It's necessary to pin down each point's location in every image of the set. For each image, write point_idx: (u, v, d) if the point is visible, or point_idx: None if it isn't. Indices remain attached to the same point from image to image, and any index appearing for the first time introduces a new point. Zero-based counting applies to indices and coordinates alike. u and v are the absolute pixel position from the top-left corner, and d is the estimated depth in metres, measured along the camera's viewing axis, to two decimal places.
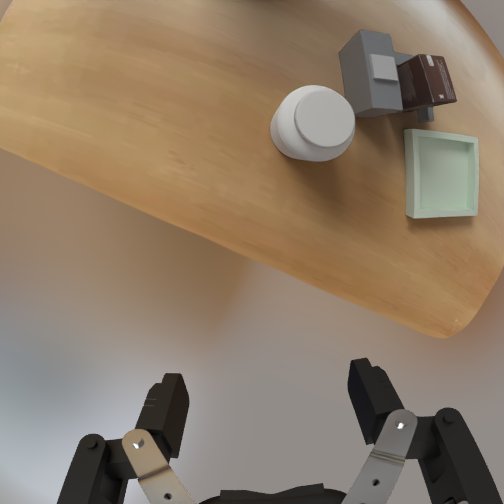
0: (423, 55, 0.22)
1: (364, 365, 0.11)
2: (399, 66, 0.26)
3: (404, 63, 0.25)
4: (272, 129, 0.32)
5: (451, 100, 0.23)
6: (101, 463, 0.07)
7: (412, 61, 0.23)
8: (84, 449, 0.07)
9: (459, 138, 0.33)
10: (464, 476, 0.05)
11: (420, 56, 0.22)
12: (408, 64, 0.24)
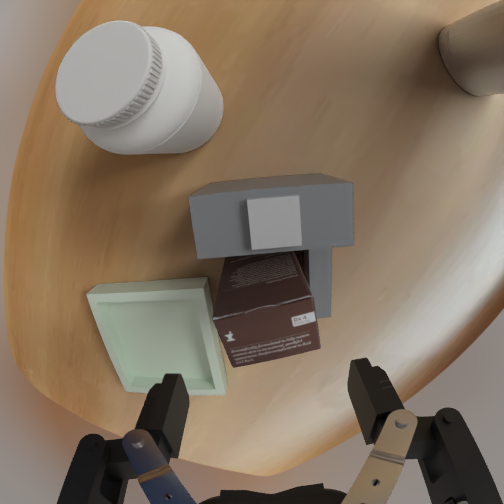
0: (311, 305, 0.16)
1: (364, 365, 0.11)
2: (294, 262, 0.20)
3: (298, 270, 0.19)
4: None
5: (229, 356, 0.17)
6: (101, 463, 0.07)
7: (299, 283, 0.17)
8: (84, 449, 0.07)
9: (214, 367, 0.29)
10: (464, 476, 0.05)
11: (307, 298, 0.16)
12: (294, 276, 0.18)
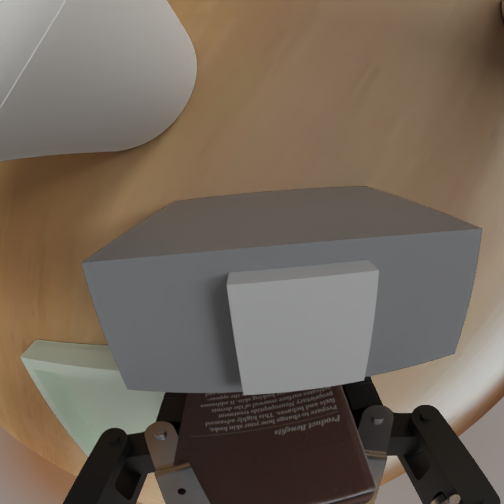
0: (369, 498, 0.05)
1: None
2: None
3: (339, 401, 0.08)
4: None
5: None
6: (120, 458, 0.07)
7: (345, 447, 0.06)
8: (105, 442, 0.08)
9: None
10: (451, 471, 0.05)
11: (364, 494, 0.05)
12: (334, 422, 0.07)
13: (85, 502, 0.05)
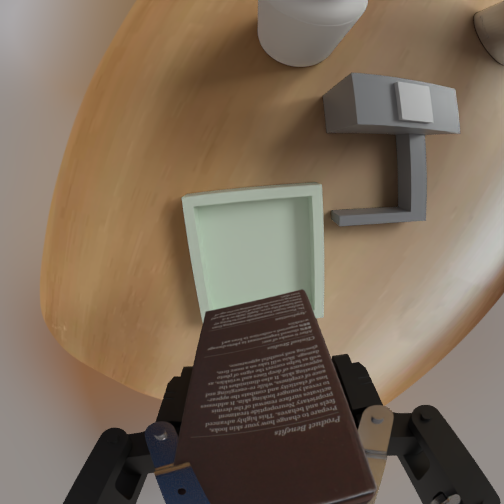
0: (369, 499, 0.05)
1: (344, 361, 0.12)
2: (329, 375, 0.09)
3: (339, 402, 0.08)
4: None
5: None
6: (120, 458, 0.07)
7: (345, 448, 0.06)
8: (105, 442, 0.08)
9: (318, 279, 0.29)
10: (451, 471, 0.05)
11: (364, 495, 0.05)
12: (334, 423, 0.07)
13: (85, 502, 0.05)
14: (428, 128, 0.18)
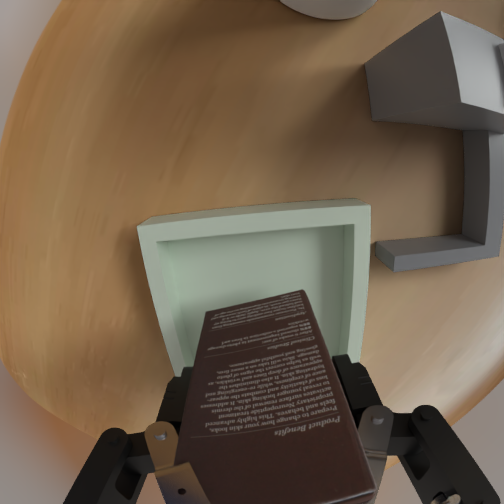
0: (369, 499, 0.05)
1: (344, 361, 0.12)
2: (329, 375, 0.09)
3: (339, 402, 0.08)
4: None
5: None
6: (120, 458, 0.07)
7: (345, 448, 0.06)
8: (105, 442, 0.08)
9: (354, 347, 0.18)
10: (451, 470, 0.05)
11: (364, 495, 0.05)
12: (334, 423, 0.07)
13: (85, 502, 0.05)
14: None
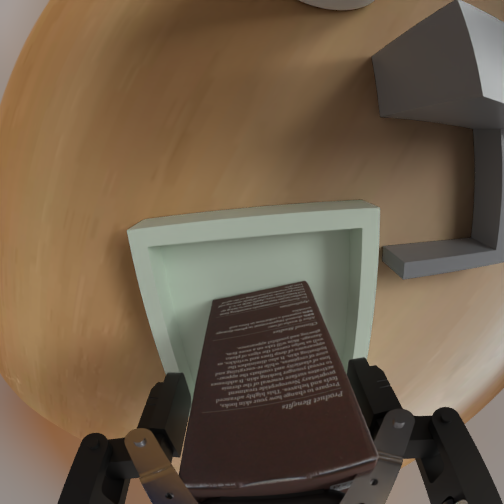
0: (371, 468, 0.06)
1: (362, 364, 0.11)
2: (332, 356, 0.10)
3: (341, 379, 0.09)
4: None
5: None
6: (103, 462, 0.07)
7: (348, 419, 0.07)
8: (86, 448, 0.07)
9: None
10: (463, 475, 0.05)
11: (367, 463, 0.06)
12: (337, 397, 0.08)
13: None
14: None
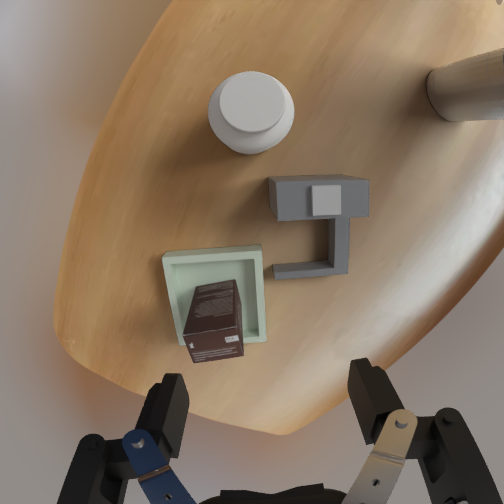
0: (235, 332, 0.29)
1: (364, 365, 0.11)
2: (233, 303, 0.33)
3: (233, 309, 0.32)
4: None
5: (191, 356, 0.30)
6: (101, 463, 0.07)
7: (231, 318, 0.30)
8: (84, 449, 0.07)
9: (261, 315, 0.40)
10: (464, 476, 0.05)
11: (233, 328, 0.29)
12: (230, 313, 0.31)
13: None
14: (338, 217, 0.29)
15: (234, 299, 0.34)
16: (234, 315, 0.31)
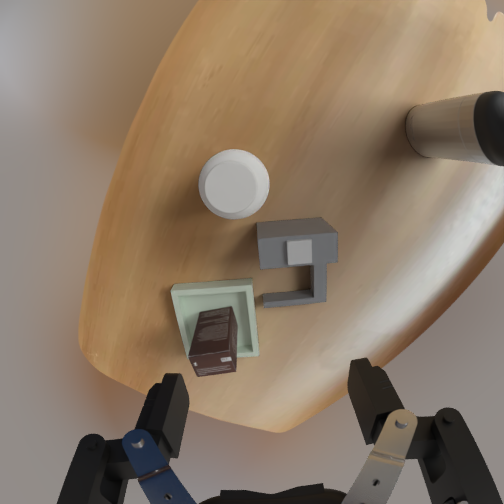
0: (228, 354, 0.37)
1: (364, 365, 0.11)
2: (228, 329, 0.41)
3: (228, 335, 0.40)
4: None
5: (195, 372, 0.38)
6: (101, 463, 0.07)
7: (225, 343, 0.38)
8: (84, 449, 0.07)
9: (253, 335, 0.47)
10: (464, 476, 0.05)
11: (226, 351, 0.37)
12: (225, 338, 0.39)
13: None
14: (310, 264, 0.36)
15: (229, 326, 0.42)
16: (228, 340, 0.39)
